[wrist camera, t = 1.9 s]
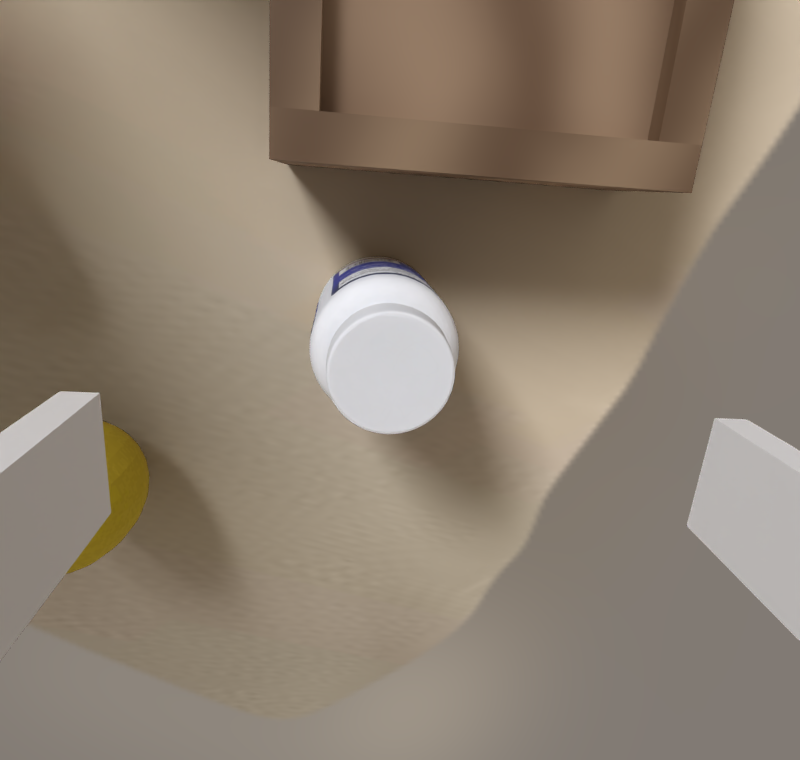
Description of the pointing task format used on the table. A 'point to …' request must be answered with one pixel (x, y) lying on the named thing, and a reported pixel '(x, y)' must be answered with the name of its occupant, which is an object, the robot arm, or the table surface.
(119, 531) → the lemon
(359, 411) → the pill bottle
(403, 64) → the tray
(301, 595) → the table surface
